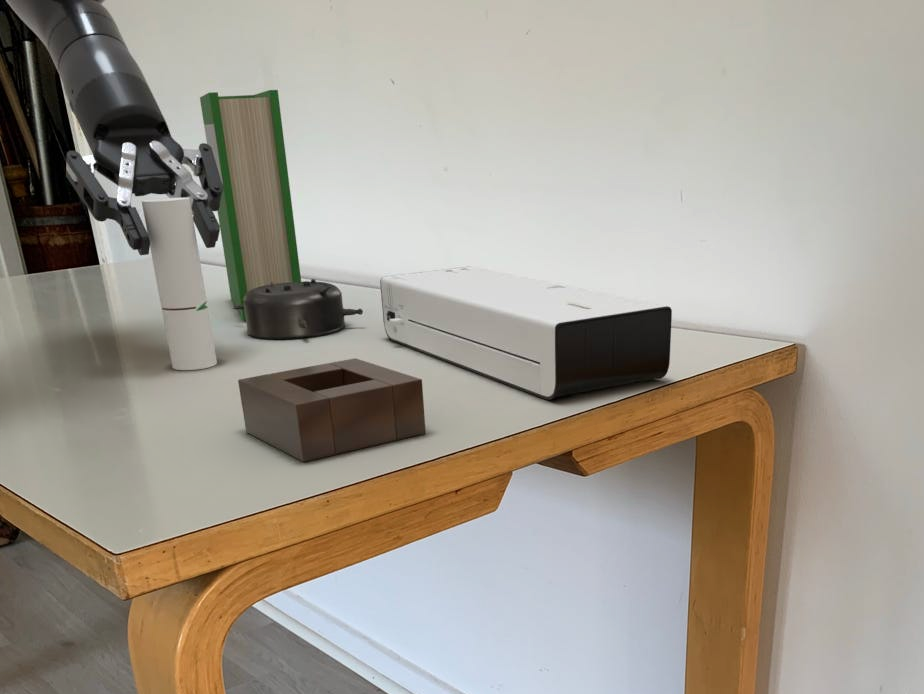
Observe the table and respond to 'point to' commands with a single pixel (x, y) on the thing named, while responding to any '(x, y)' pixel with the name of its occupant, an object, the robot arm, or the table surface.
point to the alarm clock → (294, 310)
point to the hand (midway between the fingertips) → (179, 244)
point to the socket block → (332, 408)
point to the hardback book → (252, 191)
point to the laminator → (528, 329)
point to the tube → (180, 282)
